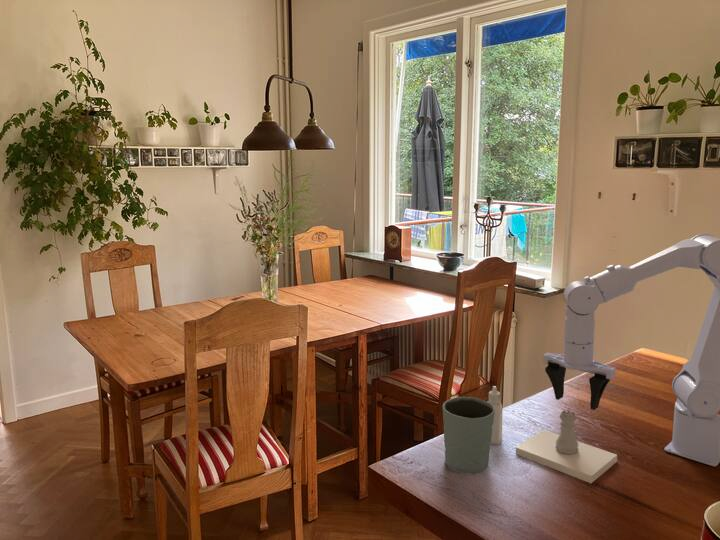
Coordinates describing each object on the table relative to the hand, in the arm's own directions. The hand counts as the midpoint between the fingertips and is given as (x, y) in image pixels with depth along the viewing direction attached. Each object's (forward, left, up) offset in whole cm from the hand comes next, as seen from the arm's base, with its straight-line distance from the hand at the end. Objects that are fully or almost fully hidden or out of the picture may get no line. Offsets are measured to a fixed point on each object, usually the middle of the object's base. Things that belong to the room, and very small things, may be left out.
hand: (576, 403), depth 121 cm
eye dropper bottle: (+14, +10, -10) cm, 19 cm away
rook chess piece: (-1, +6, -8) cm, 10 cm away
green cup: (+12, +22, -10) cm, 26 cm away
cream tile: (-1, +7, -9) cm, 11 cm away
